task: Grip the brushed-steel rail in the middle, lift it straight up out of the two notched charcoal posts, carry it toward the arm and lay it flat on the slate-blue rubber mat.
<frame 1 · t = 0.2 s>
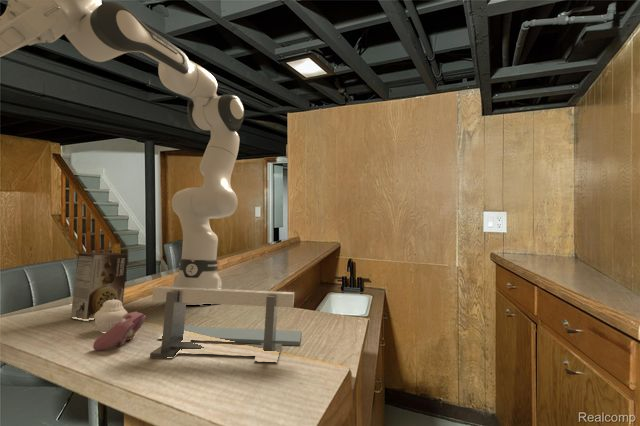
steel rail: (224, 303, 58), point 9 cm above the counter, touching rail rack
video game controller: (121, 344, 60), on the counter
rail rack: (220, 352, 57), on the counter
slate mat: (234, 336, 67), on the counter
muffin: (109, 332, 67), on the counter
coffee box: (96, 317, 79), on the counter
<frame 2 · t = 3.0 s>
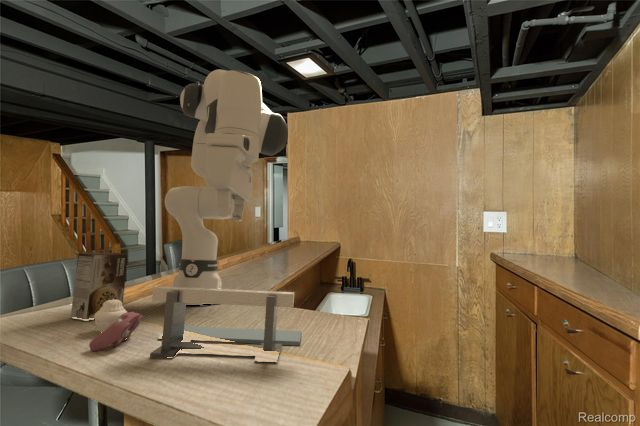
hand: (231, 219, 60), 25 cm above the counter, tool pointing down, fingers open, 8 cm apart
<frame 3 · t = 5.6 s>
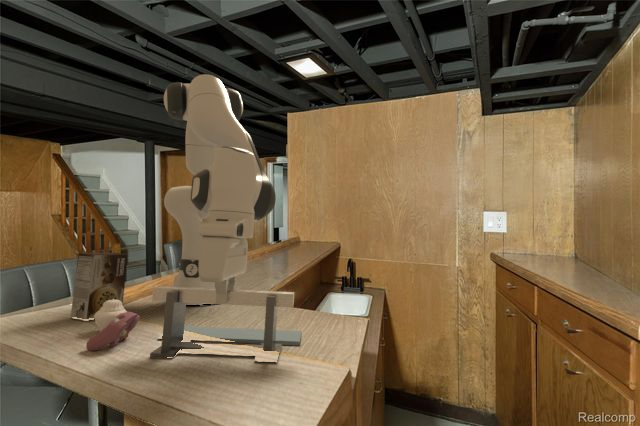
hand: (224, 301, 58), 9 cm above the counter, tool pointing down, fingers closed on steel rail, 2 cm apart
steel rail: (224, 303, 58), point 9 cm above the counter, touching gripper, rail rack
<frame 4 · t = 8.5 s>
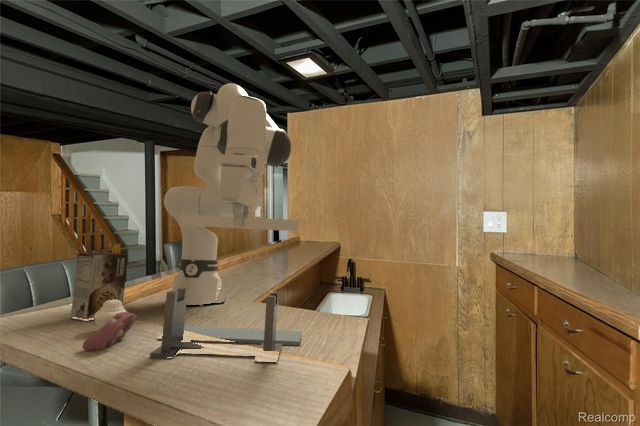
hand: (240, 226, 69), 24 cm above the counter, tool pointing down, fingers closed on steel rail, 2 cm apart
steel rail: (240, 228, 69), point 24 cm above the counter, touching gripper
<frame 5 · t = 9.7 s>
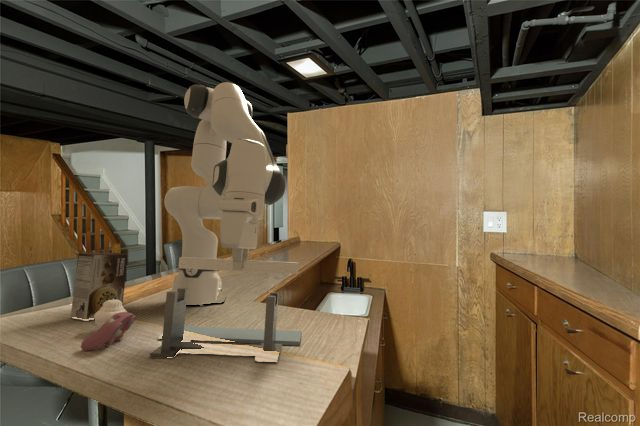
hand: (239, 269, 69), 15 cm above the counter, tool pointing down, fingers closed on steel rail, 2 cm apart
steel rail: (239, 270, 69), point 14 cm above the counter, touching gripper
when the fingers open (2 cm above the counter, at t = 11.4 s): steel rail drops 1 cm, resting on slate mat.
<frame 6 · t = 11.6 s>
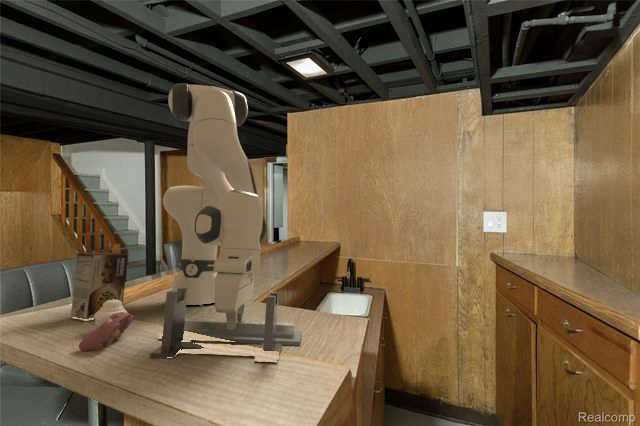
hand: (234, 325, 68), 2 cm above the counter, tool pointing down, fingers open, 4 cm apart
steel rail: (234, 332, 68), point 1 cm above the counter, touching slate mat
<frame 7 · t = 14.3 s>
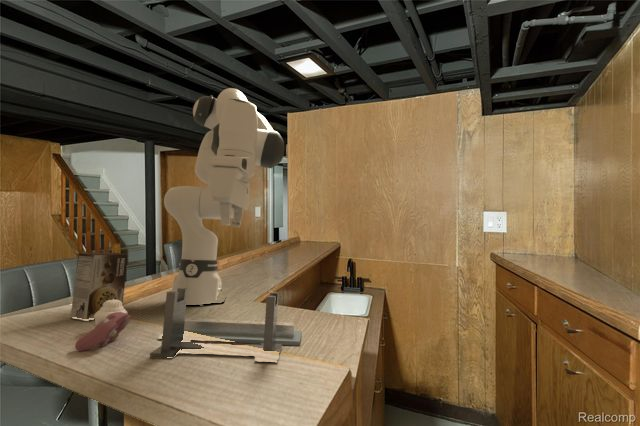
hand: (231, 226, 71), 24 cm above the counter, tool pointing down, fingers open, 8 cm apart
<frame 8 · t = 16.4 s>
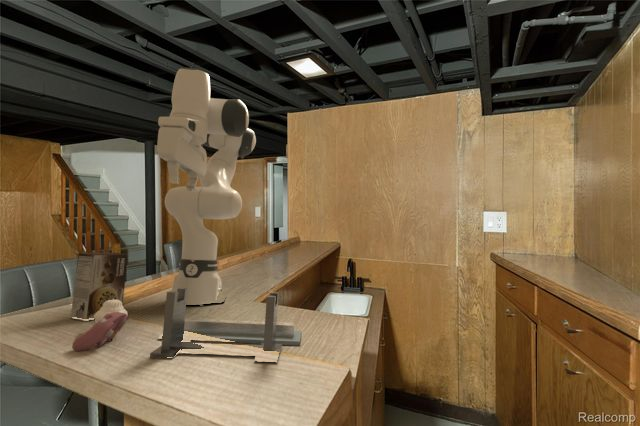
hand: (182, 187, 75), 33 cm above the counter, tool pointing down, fingers open, 8 cm apart
at the end: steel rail 0.1 cm off-centre on the slate mat, point 0.8 cm above the slate mat's base; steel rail tilted 0°; the gripper is holding nothing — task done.
